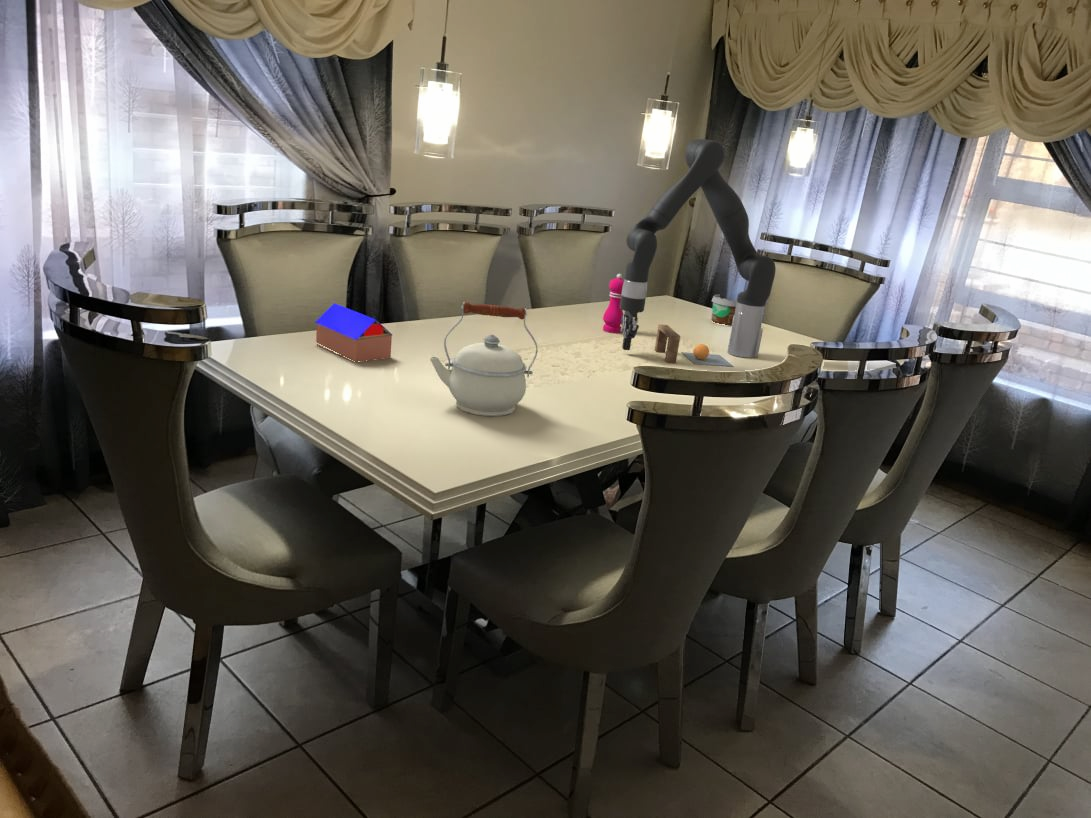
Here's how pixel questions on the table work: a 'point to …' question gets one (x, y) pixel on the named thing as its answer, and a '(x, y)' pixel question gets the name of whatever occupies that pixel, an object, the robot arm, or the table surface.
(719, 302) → the food container
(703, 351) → the ball
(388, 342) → the house
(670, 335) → the bridge
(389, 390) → the table surface
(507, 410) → the kettle
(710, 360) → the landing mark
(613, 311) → the pepper mill
